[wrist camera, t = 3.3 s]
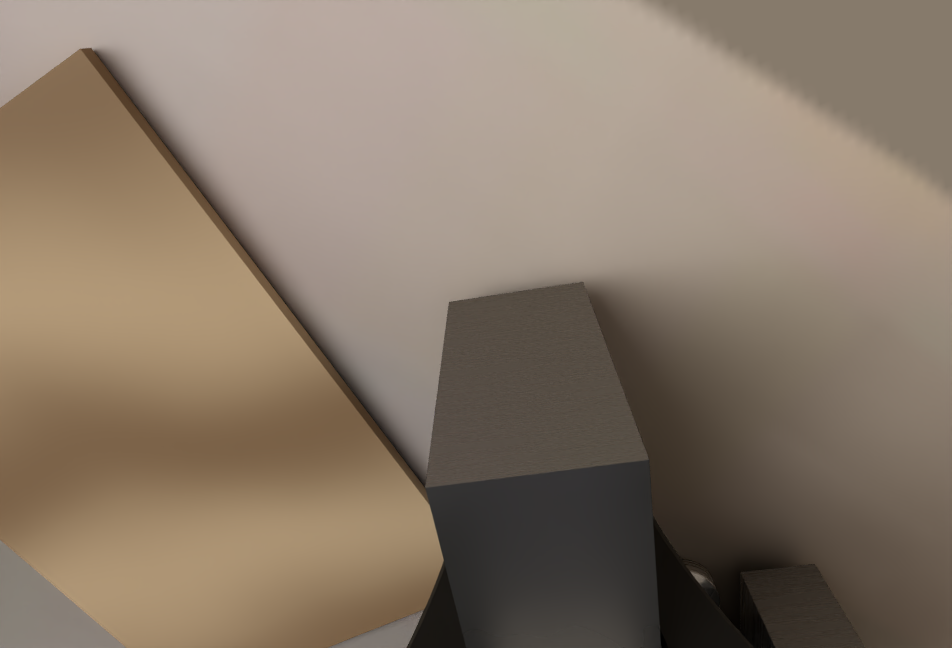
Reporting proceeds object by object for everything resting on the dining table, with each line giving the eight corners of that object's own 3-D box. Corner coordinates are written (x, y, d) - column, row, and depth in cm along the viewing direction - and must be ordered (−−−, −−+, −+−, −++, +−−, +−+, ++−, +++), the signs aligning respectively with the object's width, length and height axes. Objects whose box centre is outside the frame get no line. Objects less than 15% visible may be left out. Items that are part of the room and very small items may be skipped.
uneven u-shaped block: (448, 301, 11) (425, 487, 7) (841, 243, 11) (1097, 403, 6) (529, 697, 16) (546, 962, 12) (805, 671, 16) (936, 938, 11)
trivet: (489, 572, 15) (489, 583, 15) (194, 691, 17) (190, 702, 17) (91, 48, 10) (80, 48, 10) (-254, 301, 12) (-271, 307, 12)
